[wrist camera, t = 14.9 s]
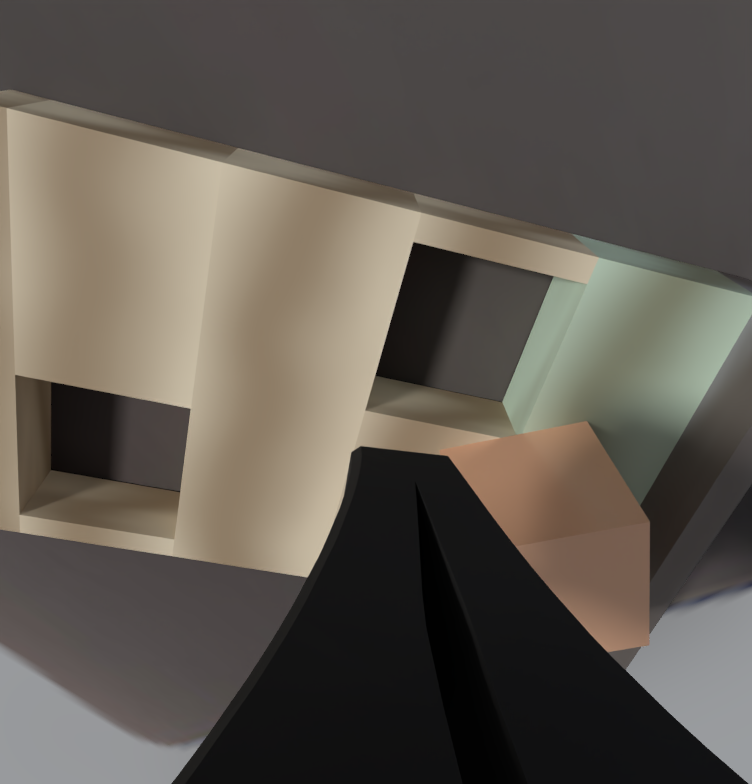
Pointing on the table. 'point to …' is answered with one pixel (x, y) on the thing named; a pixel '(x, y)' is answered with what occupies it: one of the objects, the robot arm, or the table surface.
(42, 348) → the trap board
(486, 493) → the block
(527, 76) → the table surface
